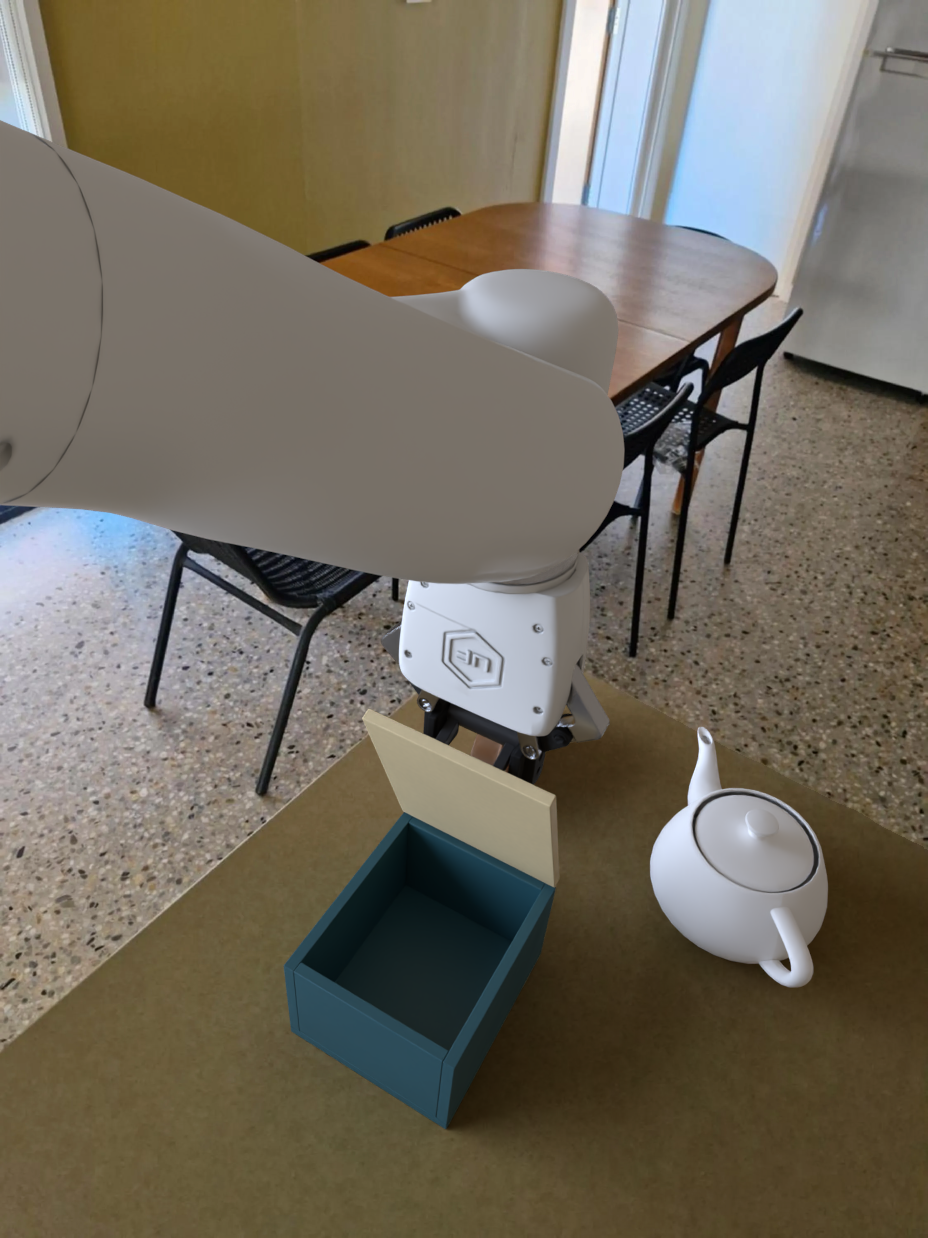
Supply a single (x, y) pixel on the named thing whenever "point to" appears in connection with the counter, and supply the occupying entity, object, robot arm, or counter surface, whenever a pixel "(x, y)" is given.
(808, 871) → the teapot
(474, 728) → the lid
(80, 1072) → the counter surface
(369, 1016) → the teal open box
